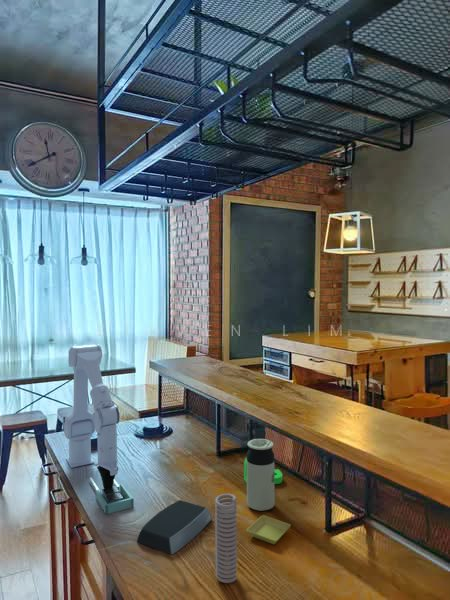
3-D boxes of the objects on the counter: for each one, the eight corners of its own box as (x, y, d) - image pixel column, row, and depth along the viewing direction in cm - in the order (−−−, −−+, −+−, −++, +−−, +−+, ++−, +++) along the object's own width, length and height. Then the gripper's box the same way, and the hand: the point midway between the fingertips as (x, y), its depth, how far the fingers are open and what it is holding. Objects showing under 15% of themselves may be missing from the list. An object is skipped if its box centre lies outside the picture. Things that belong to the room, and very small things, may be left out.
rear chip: (102, 495, 131) (102, 489, 131) (115, 492, 133) (115, 485, 133) (106, 501, 128) (106, 494, 128) (119, 497, 130) (119, 491, 130)
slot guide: (89, 482, 140) (89, 477, 140) (109, 477, 143) (109, 472, 143) (98, 496, 131) (98, 491, 131) (119, 491, 134) (119, 486, 134)
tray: (96, 498, 130) (96, 490, 130) (122, 491, 134) (122, 483, 134) (105, 514, 121) (105, 505, 120) (133, 506, 125) (133, 498, 125)
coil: (213, 583, 93) (213, 501, 92) (217, 569, 97) (217, 490, 97) (235, 585, 92) (235, 502, 91) (238, 571, 97) (237, 492, 96)
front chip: (105, 502, 128) (105, 495, 128) (119, 498, 130) (118, 491, 130) (109, 508, 124) (109, 501, 124) (123, 504, 127) (123, 497, 126)
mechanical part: (249, 487, 136) (249, 462, 136) (244, 479, 142) (243, 455, 142) (285, 483, 139) (285, 458, 139) (278, 475, 145) (278, 451, 145)
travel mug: (242, 507, 124) (242, 445, 123) (253, 495, 131) (253, 436, 130) (268, 514, 120) (268, 450, 119) (278, 501, 127) (278, 441, 127)
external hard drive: (214, 520, 118) (214, 506, 118) (174, 557, 102) (173, 541, 102) (177, 509, 124) (177, 495, 124) (134, 542, 108) (134, 527, 108)
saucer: (275, 549, 105) (275, 540, 105) (245, 537, 110) (245, 529, 110) (291, 532, 112) (291, 524, 112) (262, 522, 117) (262, 514, 117)
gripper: (88, 441, 137) (89, 483, 137) (100, 456, 124) (101, 503, 125) (110, 436, 140) (111, 477, 141) (124, 451, 128) (125, 496, 128)
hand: (108, 489), depth 133 cm, fingers closed
